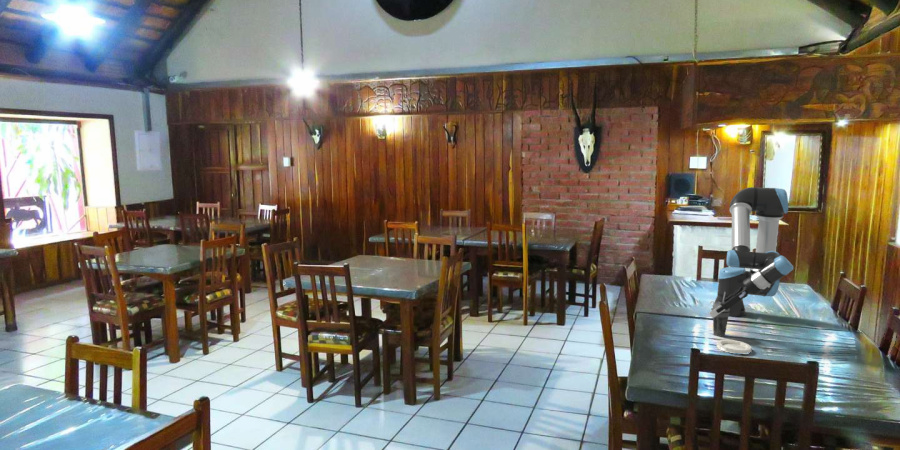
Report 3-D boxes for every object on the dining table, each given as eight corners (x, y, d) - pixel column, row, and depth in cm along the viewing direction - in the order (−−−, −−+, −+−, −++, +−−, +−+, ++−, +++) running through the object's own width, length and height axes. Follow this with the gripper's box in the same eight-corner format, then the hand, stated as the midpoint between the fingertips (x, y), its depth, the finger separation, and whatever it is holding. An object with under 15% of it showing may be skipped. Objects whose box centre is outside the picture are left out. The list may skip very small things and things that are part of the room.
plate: (744, 344, 237) (744, 340, 237) (756, 356, 225) (757, 351, 224) (712, 343, 239) (712, 338, 239) (722, 354, 226) (723, 349, 226)
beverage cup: (706, 332, 253) (710, 289, 250) (722, 332, 253) (725, 289, 250) (715, 337, 246) (719, 294, 243) (731, 337, 246) (735, 293, 243)
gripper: (761, 295, 230) (715, 325, 240) (763, 285, 247) (720, 314, 257) (748, 281, 232) (703, 312, 242) (751, 272, 249) (709, 301, 259)
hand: (712, 313), depth 250 cm, fingers closed on beverage cup, 7 cm apart
